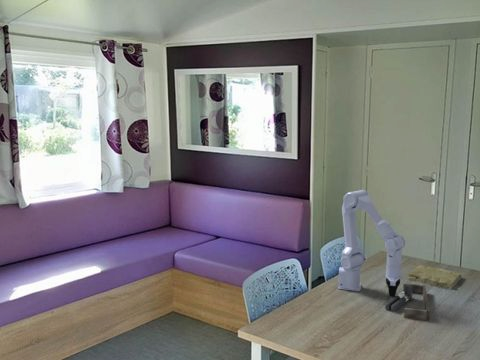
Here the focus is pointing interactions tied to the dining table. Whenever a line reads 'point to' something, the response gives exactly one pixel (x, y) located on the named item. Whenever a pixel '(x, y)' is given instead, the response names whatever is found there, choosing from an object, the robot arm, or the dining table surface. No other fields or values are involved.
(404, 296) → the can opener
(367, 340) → the dining table surface
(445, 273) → the decorative tile
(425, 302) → the box
